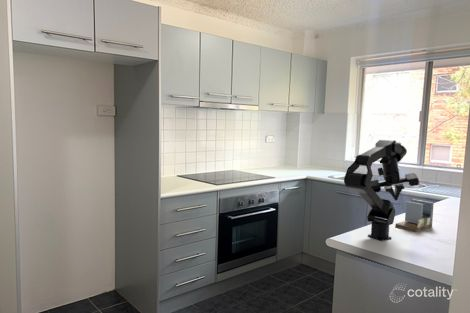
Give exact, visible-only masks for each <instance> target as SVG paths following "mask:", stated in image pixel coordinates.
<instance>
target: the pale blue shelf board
mask: <svg viewBox="0 0 470 313" xmlns="http://www.w3.org/2000/svg"><path fill="white" fill-rule="evenodd" d="M422 211H423V204H420V203H414V202H411V201H408V200H406V201H405V214H404V215H405V216H404V221H407V222H411V223H416V224H418V220H420V219H424V217H425V218H429V217H427V216H424V215H422Z"/></svg>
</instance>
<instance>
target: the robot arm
mask: <svg viewBox="0 0 470 313" xmlns="http://www.w3.org/2000/svg"><path fill="white" fill-rule="evenodd" d="M407 152H408V150H407V148H406V147H405V146H404V145H402V143H401V142H397V141H396V140H392V139H388V140H387V139H379V140H378V141H377V142H376V143H375V144H374V147H372V148H371V149H370V148H369V150H367V151H365V152H363V153H361V154H357V155H356V156H355V159H354V162H352V163H351V164H350V165H349V166H348V168H347V169H346V172H345V175H344V177H343V182H344V186H345V187H346V188H347V189H349V190H351V191H352V192H356V193H358V194H359V196H361V197H362V198H363V200H364V201H365V202H366V203H367V204H368V206H370V210H369V212H368V215H367V216H366V217H367V218H366V219H367V222H370V223H371V227H370V228H371V229H370V230H371V232H370V234H367V236H368V237H370V238H372V239H376V240H378V241H385V240H391V239H392V236H389V235H390V226H391V225H393V224H394V220H395V218H396V217H395V216H396V209H395V207H394V203H392V201H391V200H390V199H384V198H381V197H380V196H379V194H378V193H380V192H381V190H382V188H384V191H385V192H386V193H389V194H390V195H391V196H392V198H393V199H394V201H397V200H399V197H400V194H401V193H402V191H403V190H405V186H404V184H406V183H408V185H409V186H410V187H414V186H419V185H420V179H419V176H417V174H416V173H415V172H412V173H407V174H404V177H403V178H401V177H400V171H399V164H398V163H400V162H401V161H402V160H403V159H404V157H405V156H406V154H407ZM377 161H379V164H381V165H382V167H378V168H377V173H378V176H380V177H381V176H383V180H384V181H382V182H381V181H379V180H378V179H373V176H374V175H373V171H372V165H373V164H374V163H376V162H377ZM361 166H362V167H366V170H367V172H366V173H359V172H358V173H357V172H356V171H357V169H359V168H360V167H361ZM372 179H373V180H372ZM393 186H394V189H393Z"/></svg>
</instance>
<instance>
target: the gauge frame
mask: <svg viewBox="0 0 470 313" xmlns="http://www.w3.org/2000/svg"><path fill="white" fill-rule="evenodd" d="M432 227H433V223H432V224H430V217H429V218H424V219H420V220H418V224H416V223H411V222H407V221H405V220H403V221H400V222H396V223H395V228H397V229H398V228H399V229H403V230H407V231H410V232H414V233H417V232H420V231H423V230H425V229H430V228H432Z"/></svg>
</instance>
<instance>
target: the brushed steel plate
mask: <svg viewBox="0 0 470 313" xmlns="http://www.w3.org/2000/svg"><path fill="white" fill-rule="evenodd" d="M410 202H414V203H420V204H423V211H422V215H424V216H427V217H430V224H432V225H433V218H434V217H433V216H434V202H433V201H427V200H421V199H417V198H416V199H415V198H412V199H411V201H410ZM424 218H425V217H424Z"/></svg>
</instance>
